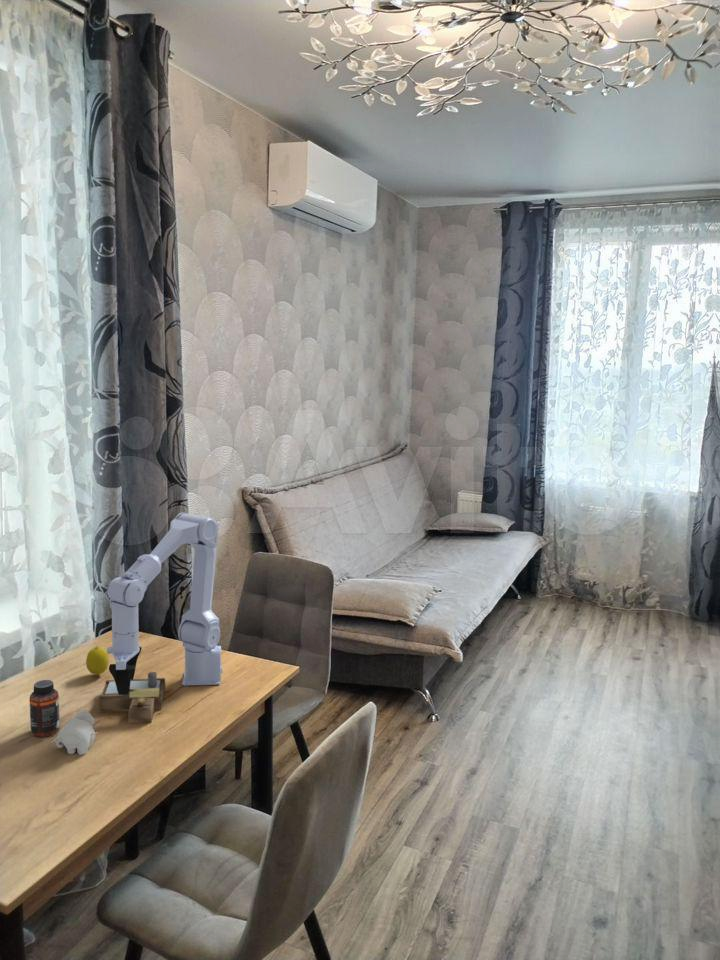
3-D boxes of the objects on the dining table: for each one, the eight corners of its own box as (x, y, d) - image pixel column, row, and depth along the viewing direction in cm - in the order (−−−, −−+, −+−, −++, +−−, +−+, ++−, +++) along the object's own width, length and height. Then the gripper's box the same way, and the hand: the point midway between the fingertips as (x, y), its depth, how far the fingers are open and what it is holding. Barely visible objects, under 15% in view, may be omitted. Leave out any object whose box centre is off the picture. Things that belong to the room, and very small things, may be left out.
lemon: (104, 680, 188) (103, 651, 187) (83, 679, 188) (82, 650, 187) (112, 671, 193) (111, 642, 192) (91, 670, 193) (90, 641, 192)
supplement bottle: (66, 728, 164) (64, 681, 162) (44, 740, 159) (42, 691, 157) (46, 722, 166) (44, 675, 164) (24, 733, 161) (22, 685, 159)
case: (165, 690, 184) (165, 677, 183) (158, 722, 168) (158, 707, 168) (107, 692, 182) (106, 678, 181) (94, 724, 166) (94, 709, 165)
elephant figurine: (60, 738, 160) (59, 707, 159) (104, 740, 160) (103, 710, 158) (44, 757, 152) (43, 725, 151) (90, 759, 152) (89, 728, 151)
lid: (160, 682, 181) (160, 667, 181) (157, 694, 175) (157, 679, 175) (109, 684, 179) (109, 669, 179) (104, 696, 173) (104, 680, 173)
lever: (159, 702, 171) (159, 687, 170) (158, 705, 169) (158, 690, 169) (123, 703, 170) (123, 688, 169) (122, 707, 168) (122, 692, 167)
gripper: (112, 618, 172) (113, 673, 175) (100, 642, 158) (102, 701, 160) (143, 618, 173) (143, 672, 176) (134, 642, 159) (135, 700, 162)
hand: (126, 686), depth 168 cm, fingers open, 7 cm apart
